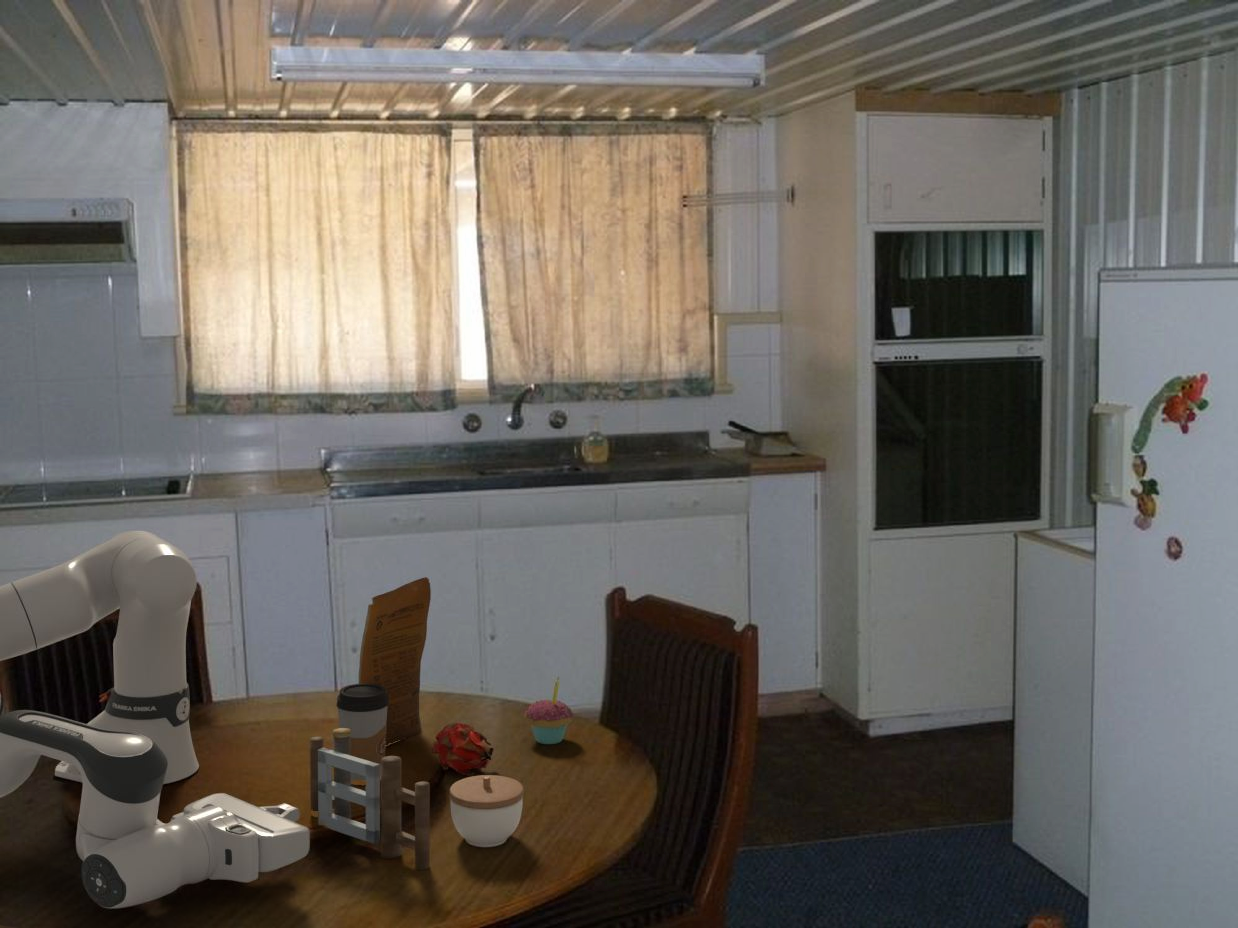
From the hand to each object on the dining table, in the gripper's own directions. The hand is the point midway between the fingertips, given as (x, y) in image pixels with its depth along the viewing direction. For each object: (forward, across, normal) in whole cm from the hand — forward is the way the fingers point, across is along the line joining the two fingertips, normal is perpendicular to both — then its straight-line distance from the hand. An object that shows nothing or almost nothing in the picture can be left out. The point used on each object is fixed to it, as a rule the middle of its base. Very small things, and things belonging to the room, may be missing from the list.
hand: (293, 810), depth 190 cm
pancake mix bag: (+42, -26, -7) cm, 50 cm away
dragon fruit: (+40, -6, -7) cm, 41 cm away
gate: (+9, +1, -6) cm, 11 cm away
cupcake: (+60, -5, -7) cm, 61 cm away
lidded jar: (+22, +16, -7) cm, 28 cm away
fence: (+11, +3, -7) cm, 13 cm away
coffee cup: (+26, -15, -7) cm, 31 cm away
